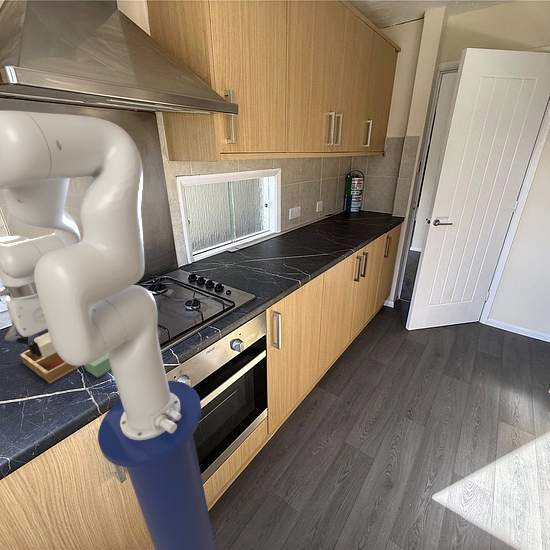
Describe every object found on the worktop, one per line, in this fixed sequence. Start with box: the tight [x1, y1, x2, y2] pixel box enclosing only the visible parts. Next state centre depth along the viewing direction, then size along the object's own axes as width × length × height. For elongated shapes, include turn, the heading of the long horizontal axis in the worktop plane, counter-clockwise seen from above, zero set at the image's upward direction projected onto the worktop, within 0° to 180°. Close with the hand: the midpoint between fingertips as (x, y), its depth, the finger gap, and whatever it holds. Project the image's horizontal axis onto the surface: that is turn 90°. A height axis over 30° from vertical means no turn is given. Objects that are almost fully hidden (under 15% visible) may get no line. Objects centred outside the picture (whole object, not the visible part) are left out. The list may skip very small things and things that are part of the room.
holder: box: [19, 349, 81, 384], centre depth 82 cm, size 16×8×3 cm, turn 59°
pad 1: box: [34, 332, 56, 358], centre depth 78 cm, size 6×6×4 cm
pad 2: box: [84, 353, 111, 378], centre depth 80 cm, size 6×6×4 cm
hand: (51, 347), depth 78 cm, fingers closed on pad 1, 5 cm apart
